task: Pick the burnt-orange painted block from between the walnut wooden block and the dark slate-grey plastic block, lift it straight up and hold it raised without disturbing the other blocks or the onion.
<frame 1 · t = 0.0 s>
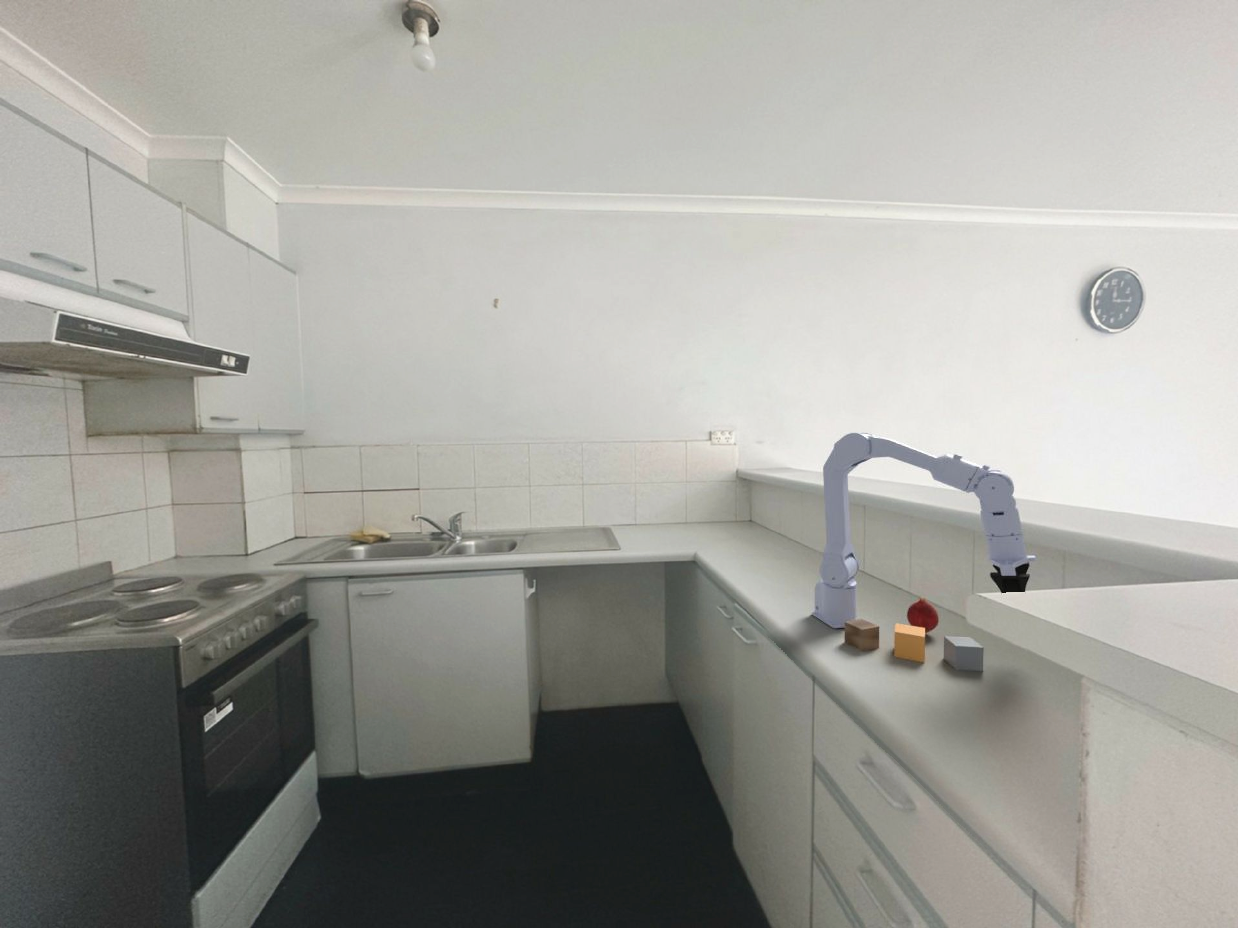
hand: (1017, 605, 90), 11 cm above the worktop, tool pointing down, fingers open, 7 cm apart
walnut block: (861, 645, 98), on the worktop
onion: (922, 634, 103), on the worktop
orange block: (909, 654, 94), on the worktop
slate block: (962, 664, 89), on the worktop
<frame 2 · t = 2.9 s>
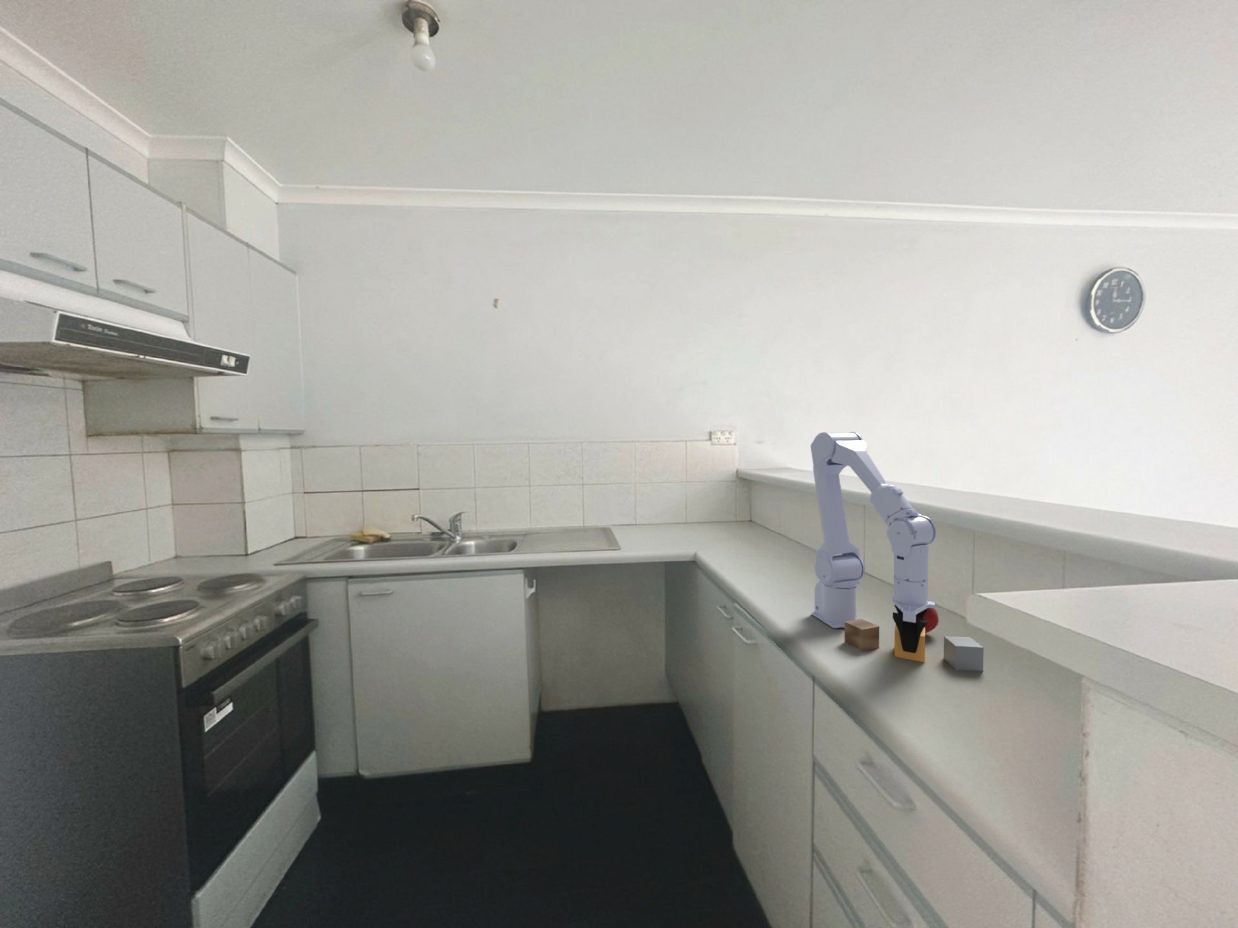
hand: (909, 646, 93), 2 cm above the worktop, tool pointing down, fingers closed on orange block, 5 cm apart
orange block: (909, 654, 94), on the worktop, touching gripper
everything else where it was.
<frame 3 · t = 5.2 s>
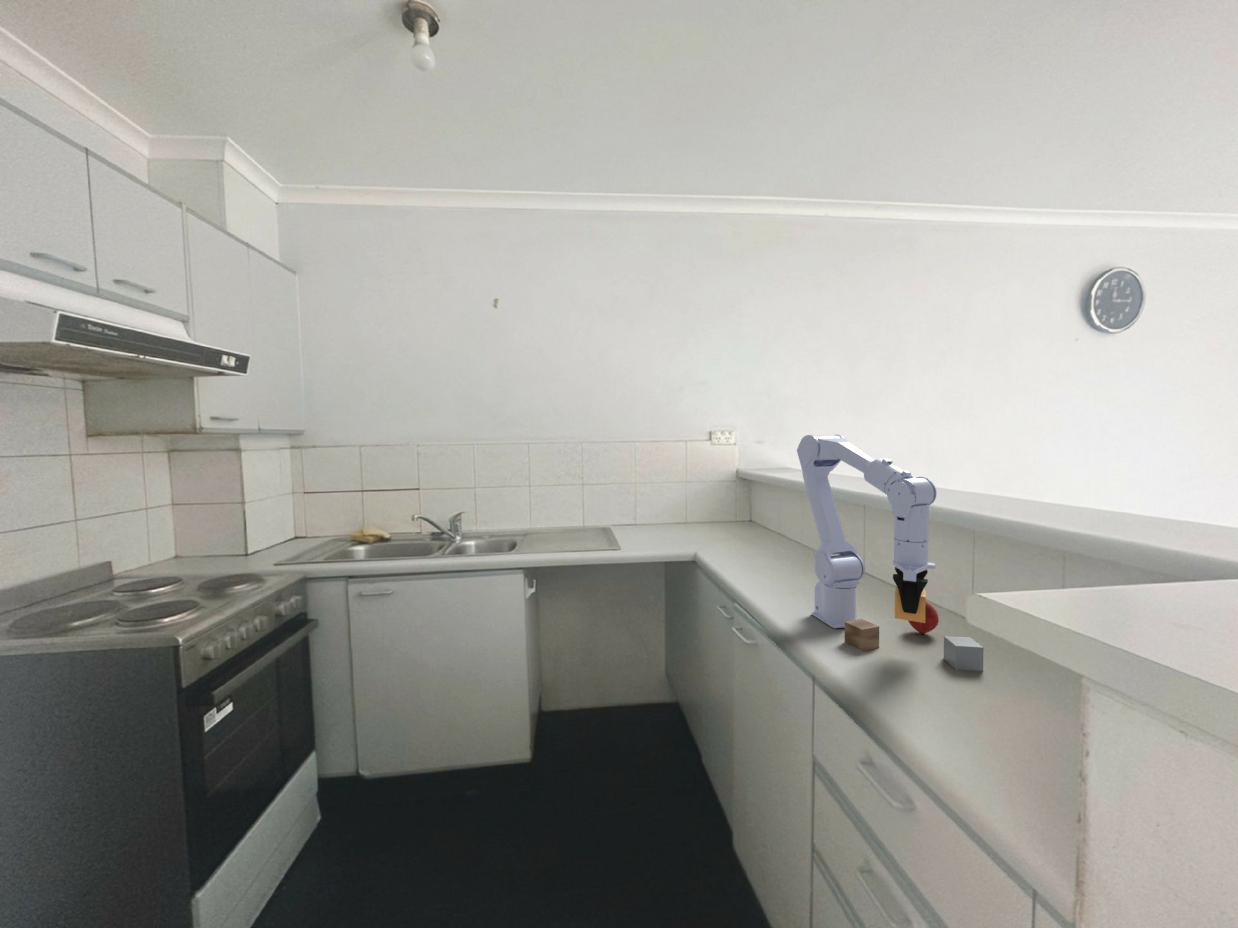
hand: (910, 608, 93), 9 cm above the worktop, tool pointing down, fingers closed on orange block, 5 cm apart
orange block: (910, 616, 93), point 8 cm above the worktop, touching gripper
everything else where it was.
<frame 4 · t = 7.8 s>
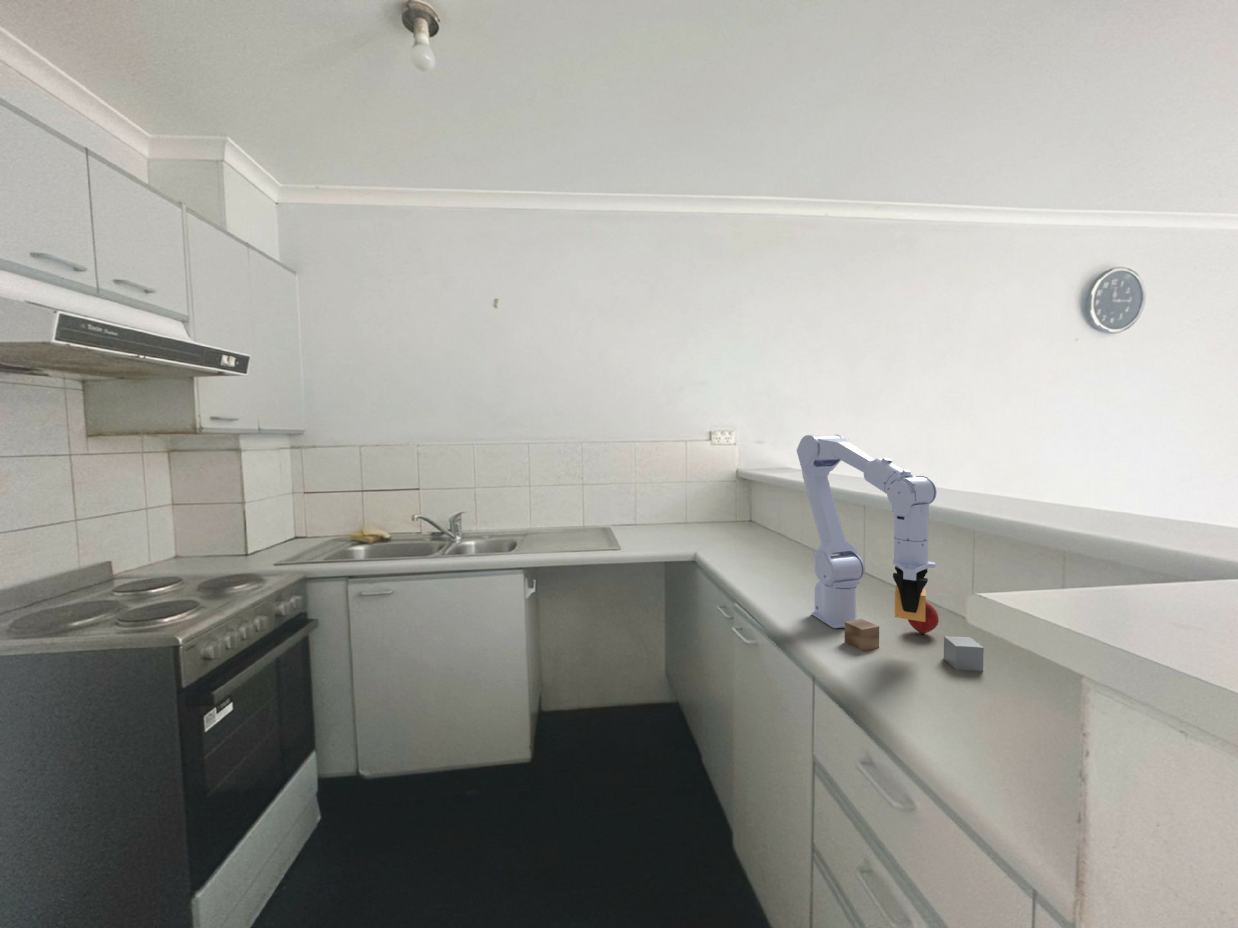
hand: (910, 607, 93), 9 cm above the worktop, tool pointing down, fingers closed on orange block, 5 cm apart
orange block: (910, 615, 93), point 8 cm above the worktop, touching gripper
everything else where it was.
at the end: the gripper is holding orange block; orange block point 7.8 cm above the worktop; walnut block moved 0.1 cm from its start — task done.
